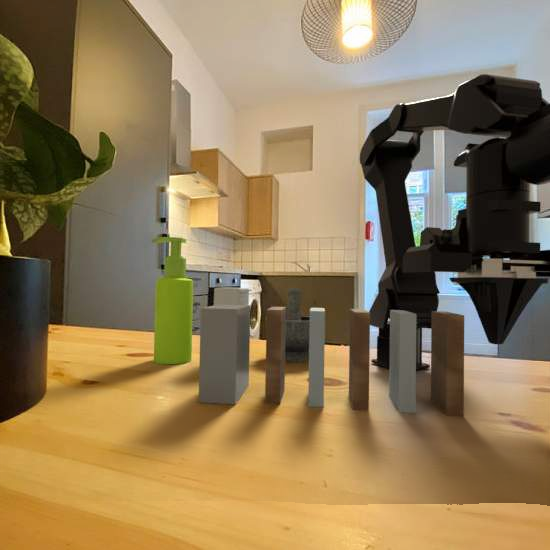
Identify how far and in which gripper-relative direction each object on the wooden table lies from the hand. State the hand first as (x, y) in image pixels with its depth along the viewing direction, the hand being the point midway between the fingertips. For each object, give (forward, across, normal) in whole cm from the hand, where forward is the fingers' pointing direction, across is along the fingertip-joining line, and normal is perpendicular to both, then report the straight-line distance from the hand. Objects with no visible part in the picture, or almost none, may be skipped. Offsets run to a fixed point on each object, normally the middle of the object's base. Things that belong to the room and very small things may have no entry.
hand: (495, 343), depth 37 cm
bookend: (+7, +28, -8) cm, 30 cm away
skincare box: (+7, +27, -25) cm, 37 cm away
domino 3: (+7, +14, -4) cm, 16 cm away
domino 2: (+7, +18, -5) cm, 20 cm away
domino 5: (+7, +5, -1) cm, 9 cm away
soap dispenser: (+7, +36, -26) cm, 46 cm away
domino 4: (+7, +9, -3) cm, 12 cm away
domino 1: (+7, +22, -7) cm, 24 cm away
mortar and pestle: (+7, +16, -27) cm, 32 cm away
